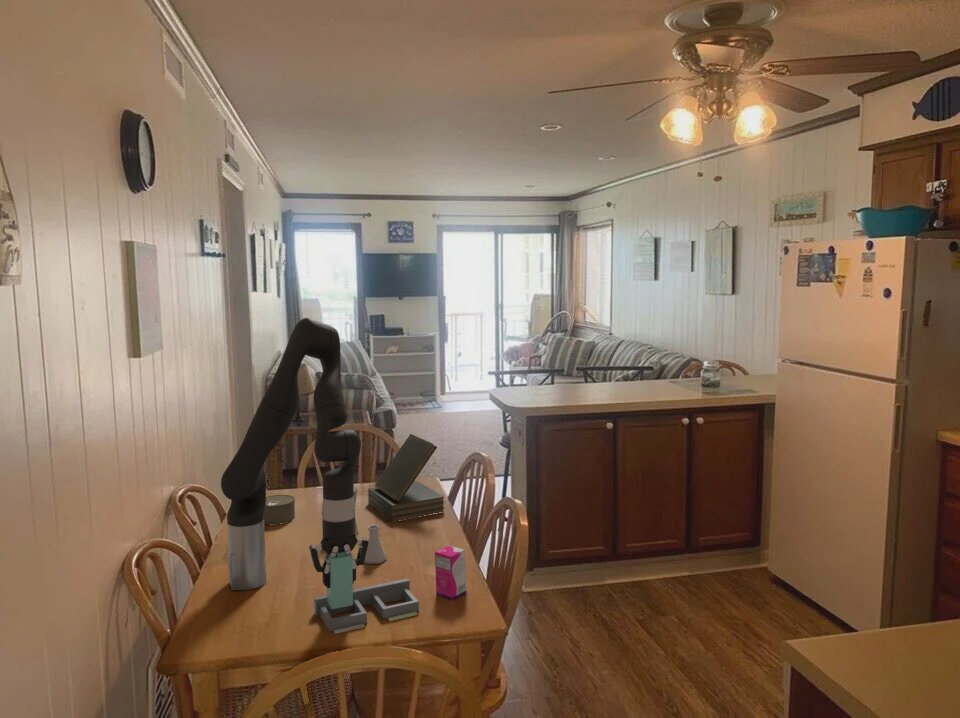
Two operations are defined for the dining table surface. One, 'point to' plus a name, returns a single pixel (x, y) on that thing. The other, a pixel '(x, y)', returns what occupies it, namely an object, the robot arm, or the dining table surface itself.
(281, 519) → the can
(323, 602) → the socket panel
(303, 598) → the dining table surface
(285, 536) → the dining table surface
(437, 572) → the supplement box
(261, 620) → the dining table surface
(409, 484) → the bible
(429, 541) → the dining table surface
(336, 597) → the plug
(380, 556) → the flask
